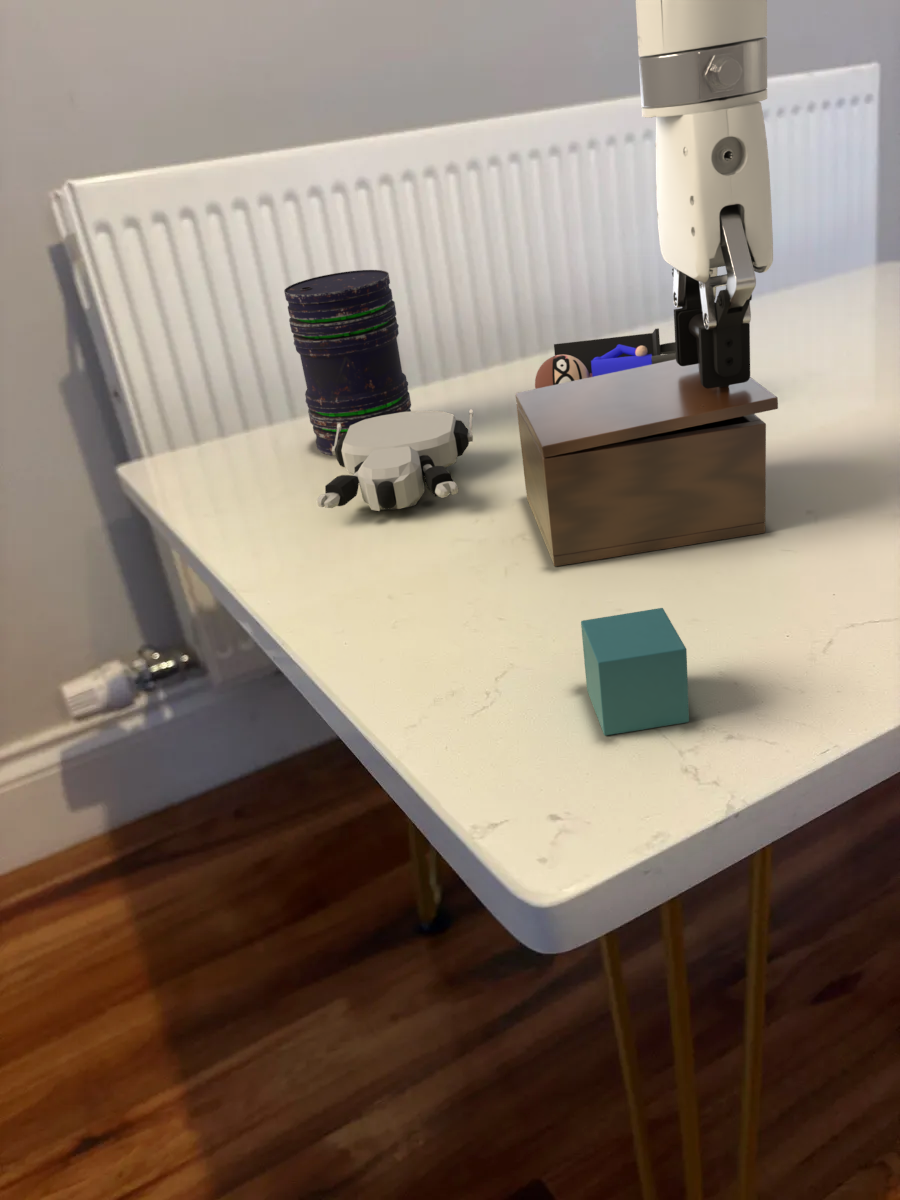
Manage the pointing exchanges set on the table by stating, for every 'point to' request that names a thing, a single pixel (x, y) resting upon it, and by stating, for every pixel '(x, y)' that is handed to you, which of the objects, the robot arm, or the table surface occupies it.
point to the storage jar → (347, 350)
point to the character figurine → (602, 357)
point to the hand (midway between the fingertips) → (711, 370)
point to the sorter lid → (634, 404)
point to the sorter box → (648, 490)
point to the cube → (635, 671)
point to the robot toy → (397, 459)
